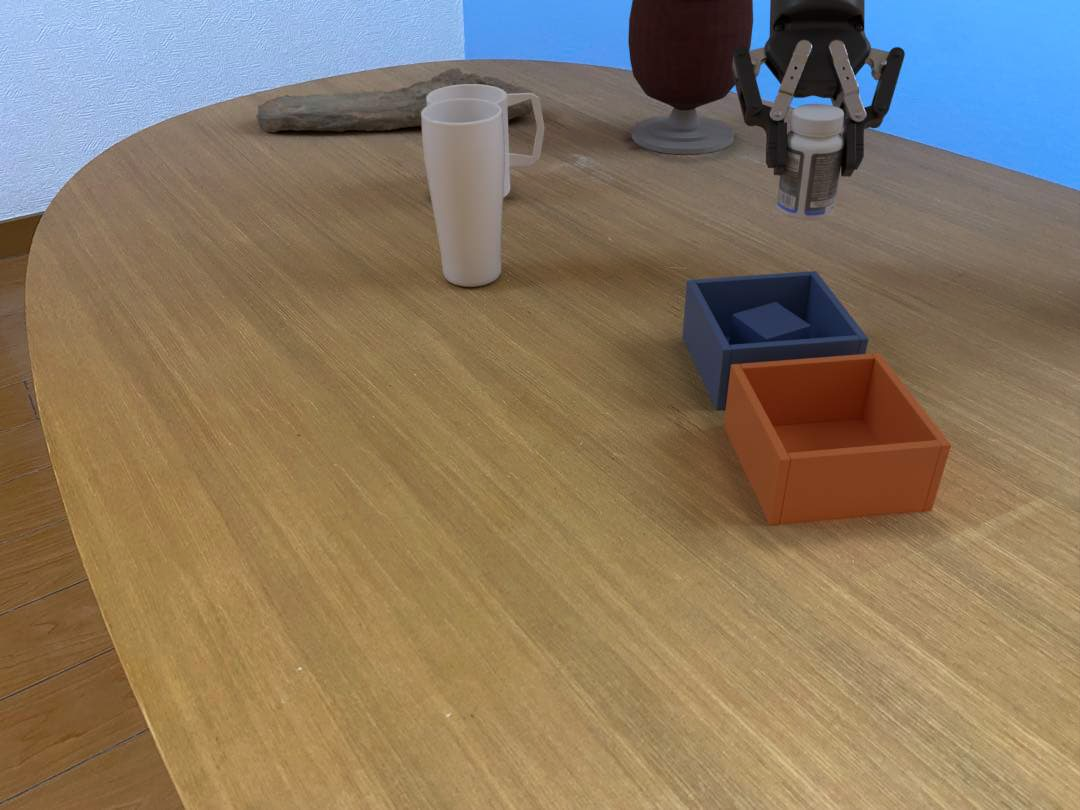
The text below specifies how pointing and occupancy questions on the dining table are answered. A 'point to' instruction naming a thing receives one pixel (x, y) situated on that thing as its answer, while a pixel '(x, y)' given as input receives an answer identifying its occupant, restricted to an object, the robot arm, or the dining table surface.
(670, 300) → the dining table surface
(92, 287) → the dining table surface
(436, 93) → the cup
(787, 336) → the blue block
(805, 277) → the blue bin
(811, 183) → the pill bottle
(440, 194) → the drinking glass
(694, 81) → the mate gourd
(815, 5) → the robot arm
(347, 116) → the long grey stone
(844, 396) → the orange bin
